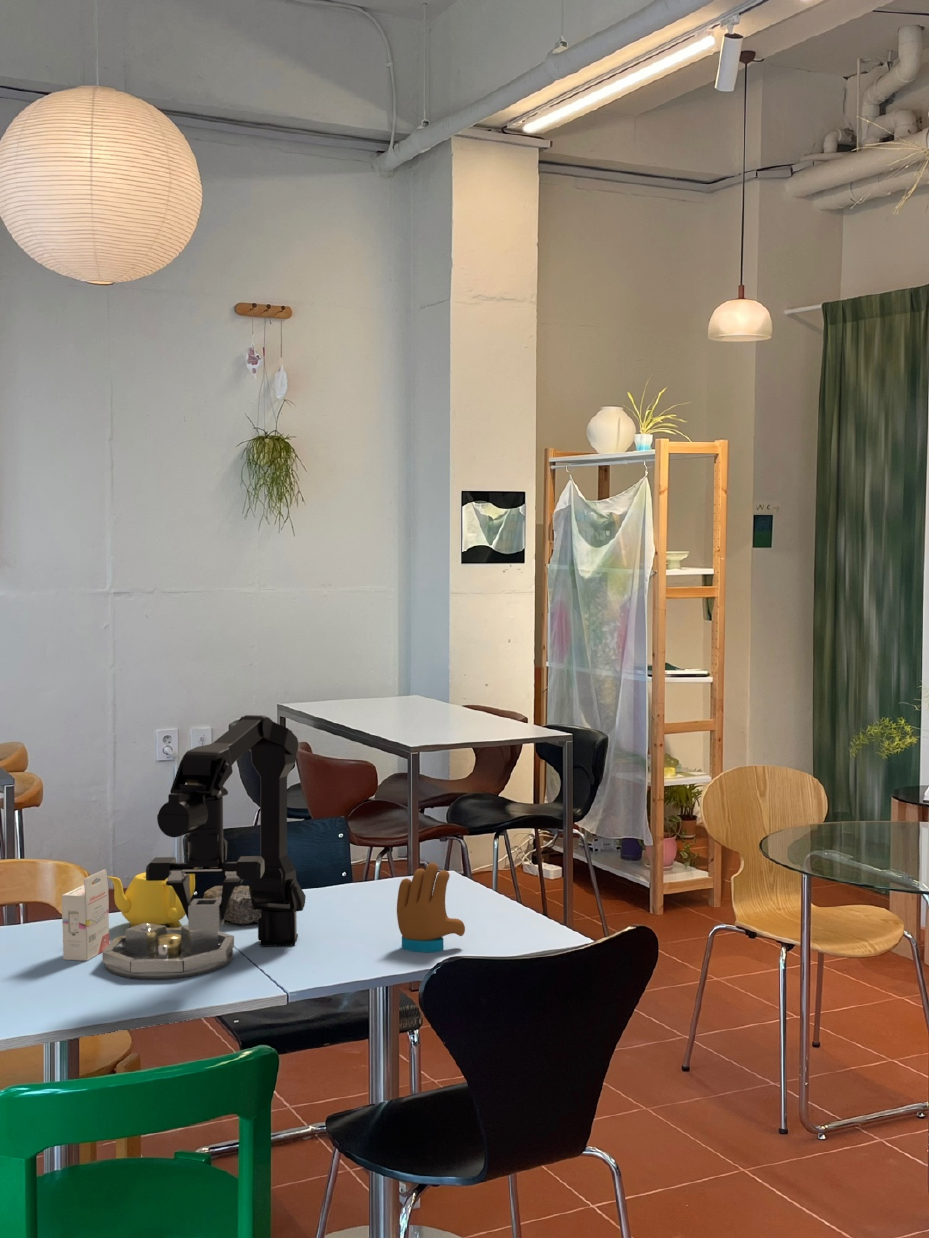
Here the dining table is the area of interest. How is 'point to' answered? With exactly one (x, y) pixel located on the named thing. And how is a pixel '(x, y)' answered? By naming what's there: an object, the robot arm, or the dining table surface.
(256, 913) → the rock
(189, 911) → the square pipe segment
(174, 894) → the teapot
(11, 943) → the dining table surface
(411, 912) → the toy
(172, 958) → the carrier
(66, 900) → the ink cartridge box
